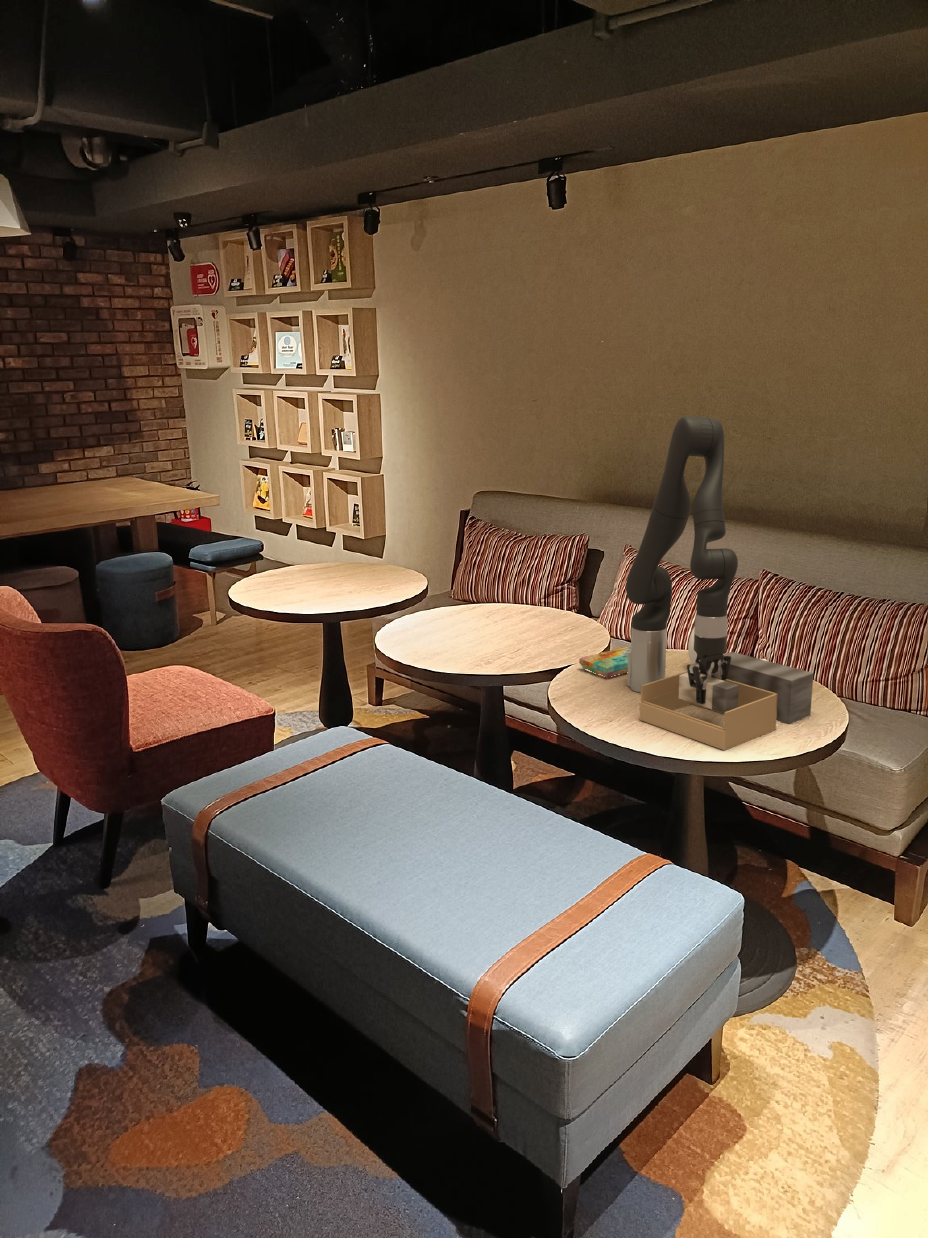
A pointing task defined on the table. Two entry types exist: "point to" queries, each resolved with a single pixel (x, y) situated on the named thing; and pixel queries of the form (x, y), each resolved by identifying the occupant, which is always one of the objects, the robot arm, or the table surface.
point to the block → (711, 693)
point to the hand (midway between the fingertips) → (707, 700)
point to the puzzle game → (607, 662)
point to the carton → (739, 723)
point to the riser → (775, 684)
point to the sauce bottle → (692, 648)
